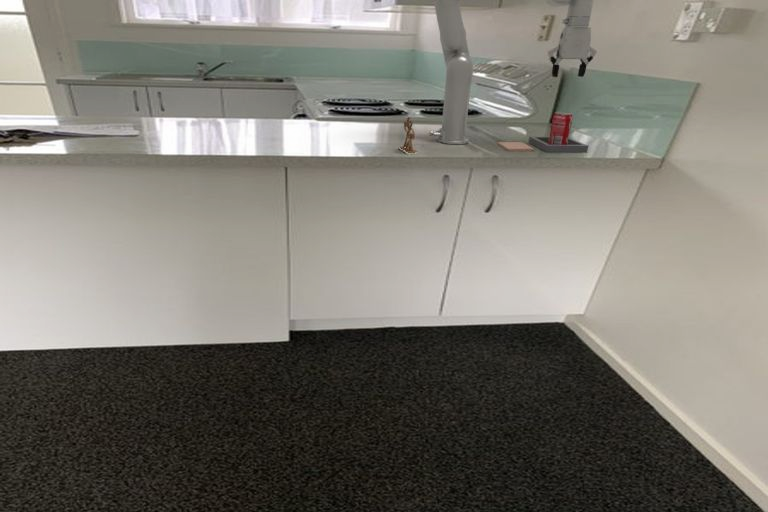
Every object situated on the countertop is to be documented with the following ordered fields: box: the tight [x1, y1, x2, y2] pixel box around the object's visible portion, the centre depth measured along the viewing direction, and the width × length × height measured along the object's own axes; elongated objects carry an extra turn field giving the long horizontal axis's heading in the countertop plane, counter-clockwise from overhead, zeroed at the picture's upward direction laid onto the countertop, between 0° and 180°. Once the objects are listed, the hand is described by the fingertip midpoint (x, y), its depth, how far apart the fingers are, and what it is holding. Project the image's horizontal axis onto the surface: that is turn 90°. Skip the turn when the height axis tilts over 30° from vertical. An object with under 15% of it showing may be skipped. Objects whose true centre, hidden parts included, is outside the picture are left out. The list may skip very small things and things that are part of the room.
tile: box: [497, 141, 534, 152], centre depth 161 cm, size 10×11×1 cm
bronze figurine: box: [399, 116, 418, 153], centre depth 148 cm, size 9×4×12 cm, turn 21°
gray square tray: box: [528, 136, 589, 153], centre depth 163 cm, size 16×16×2 cm
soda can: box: [548, 111, 574, 145], centre depth 161 cm, size 7×7×13 cm
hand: (567, 76), depth 153 cm, fingers open, 9 cm apart
